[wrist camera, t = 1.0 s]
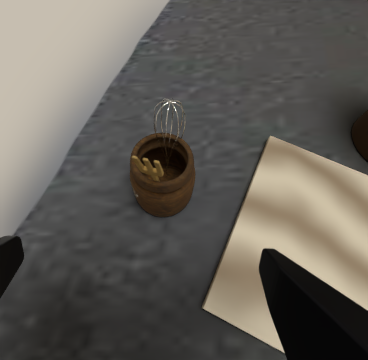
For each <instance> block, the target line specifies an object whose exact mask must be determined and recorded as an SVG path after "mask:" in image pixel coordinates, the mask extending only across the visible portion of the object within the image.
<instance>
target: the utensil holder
mask: <svg viewBox="0 0 368 360" xmlns="http://www.w3.org/2000/svg"><path fill="white" fill-rule="evenodd" d="M172 99H173V98H172ZM172 99H171V100H172ZM164 100H165V99H164ZM164 100H163V101H162V102H160V103H163V102H168V103H169V102H170V103H172V105H173V104H174V102H173V101H170V100H169V101H164ZM167 100H168V99H167ZM177 102H179V101H177ZM160 103H159V104H160ZM179 103H180V102H179ZM166 104H167V103H166ZM166 104H164V105H166ZM175 104H177V103H175ZM180 104H181V103H180ZM164 105H163V106H164ZM177 105H178V104H177ZM181 105H182V104H181ZM157 106H158V105H157ZM157 106H156V107H157ZM163 106H162V105H161V108H160V109H161V127H162V107H163ZM169 106H170V104H169ZM173 106H174V105H173ZM179 106H180V105H179ZM156 107H155V109H156ZM180 107H181V106H180ZM174 108H175V107H174ZM181 108H182V118H183V112H184V110H183V106H182V107H181ZM168 110H169V107H168ZM175 110H176V109H175ZM159 111H160V110H159ZM159 111H158V113H159ZM158 113H157V115H158ZM176 113H177V111H176ZM184 115H185V113H184ZM167 116H168V112H167ZM177 117H178V114H177ZM154 119H155V110H154ZM156 120H157V116H156ZM172 120H173V112H172ZM166 125H167V118H166ZM181 125H182V122H181ZM178 128H179V119H178ZM154 129H155V134H151V135H149V136H146V137H145V138H143V139H141V140H140V141H139V142H138V143H137V144H136V145H135V147H134V149H133V151H132V153H131V158H130V181H131V185H132V188H133V191H134V194H135V197H136V199H137V201H138V203H139V204H140V206H141V207H142V208H143V209H144V210H145V211H146V212H148V213H150V214H152V215H154V216H159V217H168V216H172V215H175V214H177V213H179V212H180V211H181V210H183V209H184V208H185V207H186V205H187V204H188V202H189V200H190V198H191V195H192V191H193V187H194V183H195V168H194V158H193V153H192V151H191V149H190V147H189V145H188V144H187V143H186V142H185V141H184V140H183V139H182V137H183V135H182V137H181V138H180V137H178V135H179V133H177V136H175V135H173V134H171V133H170V134H169V133H166V131H165V133H163V130H162V133H156V126H155V123H154ZM171 129H172V124H171ZM180 129H181V127H180ZM184 129H185V123H184ZM179 132H180V130H179ZM183 134H184V131H183Z"/></svg>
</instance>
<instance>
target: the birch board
mask: <svg viewBox="0 0 368 360" xmlns="http://www.w3.org/2000/svg"><path fill="white" fill-rule="evenodd" d="M264 248H272V249H276V250H277V251H279V252H280V253H282V254H283V255H285V256H286V257H288V258H289V259H291V260H292V261H294V262H295V263H297V264H298V265H300V266H301V267H303V268H304V269H306V270H307V271H309V272H310V273H312V274H313V275H315V276H316V277H318V278H319V279H321V280H322V281H324V282H325V283H327V284H329V285H330V286H332V287H333V288H335V289H336V290H338V291H339V292H341V293H342V294H344V295H345V296H347V297H348V298H350V299H351V300H353V301H354V302H356V303H357V304H359V305H360V306H362V307H363V308H365V309H366V310H368V175H365V174H363V173H361V172H358V171H356V170H353V169H351V168H348V167H346V166H343V165H341V164H339V163H336V162H334V161H331V160H329V159H326V158H324V157H321V156H319V155H317V154H314V153H312V152H309V151H307V150H304V149H302V148H299V147H297V146H295V145H292V144H290V143H287V142H285V141H282V140H280V139H277V138H275V137H273V136H270V137H269V138H268V140H267V142H266V144H265V147H264V150H263V152H262V155H261V157H260V160H259V162H258V165H257V167H256V170H255V173H254V175H253V178H252V180H251V183H250V185H249V188H248V190H247V193H246V196H245V198H244V201H243V203H242V206H241V208H240V211H239V213H238V216H237V219H236V221H235V224H234V226H233V229H232V231H231V234H230V236H229V239H228V242H227V244H226V247H225V249H224V252H223V254H222V257H221V259H220V262H219V265H218V267H217V270H216V272H215V275H214V277H213V280H212V282H211V285H210V288H209V290H208V293H207V295H206V298H205V300H204V303H203V305H202V308H203V309H205V310H207V311H208V312H210V313H212V314H214V315H216V316H218V317H219V318H221V319H223V320H225V321H227V322H229V323H230V324H232V325H234V326H236V327H238V328H240V329H241V330H243V331H245V332H247V333H249V334H251V335H252V336H254V337H256V338H258V339H260V340H262V341H263V342H265V343H267V344H269V345H271V346H273V347H274V348H276V349H278V350H280V351H282V352H284V350H283V347H282V344H281V342H280V339H279V336H278V334H277V331H276V328H275V326H274V323H273V320H272V318H271V315H270V312H269V308H268V305H267V301H266V297H265V293H264V289H263V286H262V282H261V278H260V274H259V262H260V258H261V253H262V250H263V249H264ZM284 353H285V352H284Z"/></svg>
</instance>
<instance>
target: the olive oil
mask: <svg viewBox="0 0 368 360" xmlns="http://www.w3.org/2000/svg"><path fill="white" fill-rule="evenodd" d="M352 139H353V142H354V144H355V147H356V148H357V150H358V151H359V153H360V154H361V155H362V156H363V157H364V158H365V159H366V160H367V161H368V110H367V111H366V112H365V113H364V114H363V115H362V116H361V117H360V118H359V119H358V120H357V121H356V122H355V123H354V125H353V127H352Z"/></svg>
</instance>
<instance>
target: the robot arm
mask: <svg viewBox="0 0 368 360" xmlns="http://www.w3.org/2000/svg"><path fill="white" fill-rule="evenodd" d="M23 259H24V252H23V247H22V242H21V238H20V237H18V236H4V237H1V238H0V298H1V296H2V295H3V293H4V292H5V290H6V288H7V287H8V285H9V283H10V282H11V280H12V278H13V277H14V275H15V273H16V272H17V270H18V269H19V267H20V265H21V264H22V262H23ZM259 274H260V278H261V282H262V286H263V289H264V293H265V297H266V301H267V305H268V308H269V312H270V315H271V318H272V320H273V323H274V326H275V328H276V331H277V334H278V336H279V339H280V342H281V344H282V347H283V350H284V352H285V355H286V358H287V360H368V310H366V309H365V308H363V307H362V306H360V305H359V304H357V303H356V302H354V301H353V300H351V299H350V298H348V297H347V296H345V295H344V294H342V293H341V292H339V291H338V290H336V289H335V288H333V287H332V286H330V285H329V284H327V283H325V282H324V281H322V280H321V279H319V278H318V277H316V276H315V275H313V274H312V273H310V272H309V271H307V270H306V269H304V268H303V267H301V266H300V265H298V264H297V263H295V262H294V261H292V260H291V259H289V258H288V257H286V256H285V255H283V254H282V253H280V252H279V251H277V250H276V249H272V248H264V249H263V250H262V253H261V258H260V262H259Z"/></svg>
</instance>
